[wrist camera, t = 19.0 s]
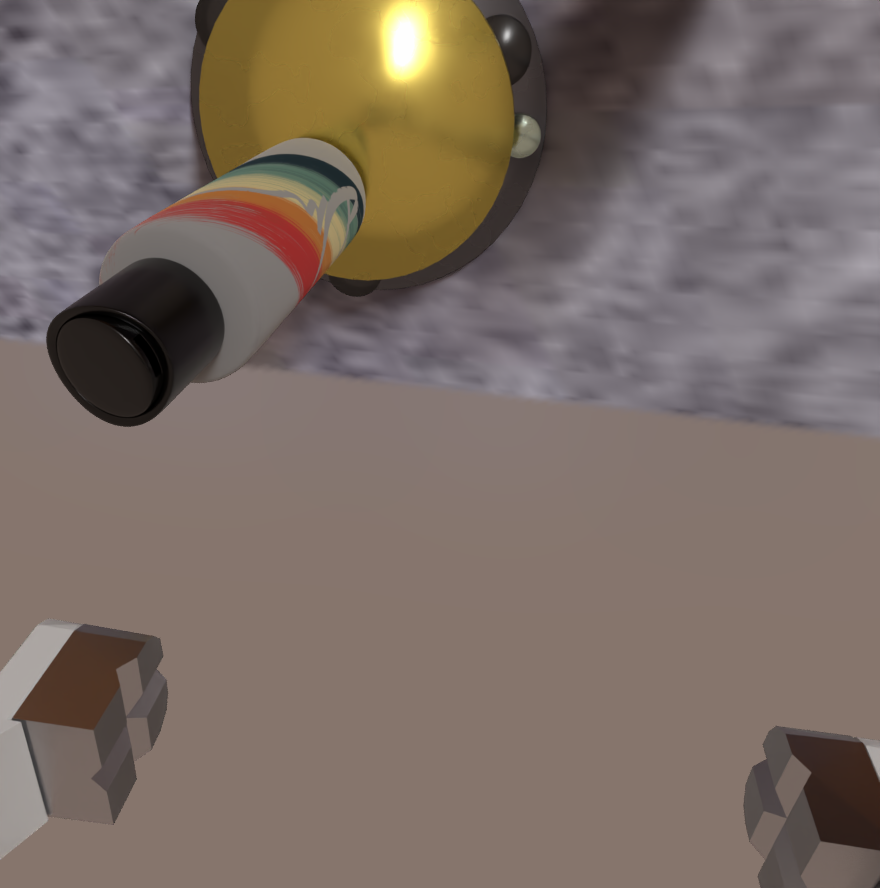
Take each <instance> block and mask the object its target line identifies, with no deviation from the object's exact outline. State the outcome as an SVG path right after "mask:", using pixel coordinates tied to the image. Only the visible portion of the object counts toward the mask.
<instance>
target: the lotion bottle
mask: <svg viewBox="0 0 880 888" xmlns="http://www.w3.org/2000/svg"><path fill="white" fill-rule="evenodd" d="M365 207H366V199H365V191H364V186H363V183H362V180H361V177H360V175H359V173H358V171H357V170H356V168H355V166H354V165H353V164H352V162H351V161H350V160H349V159H348V158H347V157H346V156H345V155H344V154H343V153H342V152H341V151H340V150H338V149H337V148H335V147H334V146H332V145H330V144H328V143H326V142H323V141H320V140H317V139H311V138H295V139H291V140H287V141H284V142H282V143H279V144H277V145H275V146H273V147H271V148H269V149H268V150H266V151H264V152H262V153H260V154H259V155H257V156H255V157H254V158H252V159H250V160H248V161H247V162H245V163H243V164H241V165H240V166H238V167H236V168H235V169H233V170H231V171H229V172H228V173H226V174H224V175H222V176H221V177H219V178H217V179H216V180H214V181H212V182H210V183H209V184H207V185H205V186H203V187H202V188H200V189H198V190H197V191H195V192H193V193H191V194H190V195H188V196H186V197H184V198H183V199H181V200H179V201H177V202H176V203H174V204H172V205H171V206H169V207H167V208H165V209H164V210H162V211H160V212H159V213H157V214H155V215H153V216H152V217H150V218H148V219H147V220H145V221H143V222H142V223H140V224H139V225H137V226H135V227H134V228H132V229H131V230H129V231H128V232H126V233H125V234H123V235H122V236H121V237H120V238H119V239H118V240H117V241H116V242H115V243H114V244H113V245H112V247H111V248H110V250H109V251H108V253H107V254H106V256H105V258H104V261H103V263H102V267H101V271H100V277H99V286H98V287H96V288H95V289H94V290H92V291H91V292H89V293H88V294H86V295H85V296H83V297H82V298H81V299H79V300H78V301H76V302H75V303H73V304H72V305H70V306H69V307H68V308H66V309H65V310H63V311H62V312H61V313H59V314H58V315H57V316H56V317H55V318H54V319H53V320H52V322H51V323H50V325H49V328H48V331H47V337H46V342H47V349H48V353H49V357H50V359H51V362H52V364H53V367H54V369H55V371H56V373H57V374H58V376H59V378H60V379H61V381H62V382H63V384H64V385H65V387H66V388H67V389H68V391H69V392H70V393H71V394H72V396H73V397H74V398H75V399H76V400H77V401H78V402H79V403H80V404H81V405H82V406H83V407H84V408H85V409H87V410H88V411H89V412H90V413H92V414H93V415H95V416H96V417H98V418H100V419H101V420H103V421H106V422H108V423H110V424H113V425H117V426H124V427H131V426H137V425H141V424H144V423H146V422H148V421H150V420H151V419H153V418H155V417H156V416H157V415H158V414H159V413H160V412H161V411H163V409H165V408H166V407H167V406H168V405H169V404H170V402H171V401H173V400H174V399H175V398H176V396H177V395H178V394H179V393H180V392H181V391H182V390H183V389H184V388H185V387H186V386H187V385H188V384H189V383H190V382H191V383H205V382H212V381H216V380H220V379H222V378H225V377H227V376H229V375H231V374H232V373H234V372H236V371H237V370H239V369H240V368H241V367H242V366H243V365H245V364H246V363H247V362H248V361H249V359H250V358H251V357H252V356H253V355H254V354H255V353H256V352H257V351H258V350H259V349H260V347H261V346H262V345H263V344H264V343H265V342H266V341H267V339H268V338H269V337H270V336H271V335H272V334H273V332H274V331H275V330H276V329H277V328H278V327H279V325H280V324H281V323H282V322H283V321H284V320H285V319H286V317H287V316H288V315H289V314H290V313H291V312H292V310H293V309H294V308H295V307H296V306H297V305H298V303H299V302H300V301H301V300H302V299H303V298H304V296H305V295H306V294H307V293H308V292H309V291H310V289H311V288H312V287H313V286H314V285H315V284H316V282H317V281H318V280H319V279H320V278H321V277H322V275H323V274H324V273H325V272H326V271H327V270H328V268H329V267H330V266H331V265H332V264H333V263H334V261H335V260H336V259H337V258H338V257H339V256H340V254H341V253H342V252H343V251H344V250H345V249H346V247H347V246H348V245H349V244H350V242H351V241H352V240H353V238H354V237H355V236H356V234H357V232H358V231H359V229H360V227H361V224H362V222H363V219H364V214H365Z"/></svg>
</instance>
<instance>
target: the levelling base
mask: <svg viewBox="0 0 880 888" xmlns="http://www.w3.org/2000/svg"><path fill="white" fill-rule="evenodd" d="M195 24H196V29H197V36H196V40H195V44H194V49H193V58H192V67H191V101H192V108H193V116H194V123H195V127H196V131H197V136H198V140H199V144H200V147H201V150H202V153H203V156H204V158H205V161H206V164H207V166H208V169H209V171H210V173H211V175H212V177H213V179H214V180H216V179H217V178H219V177H221V176H222V175H224V174H226V173H228V172H229V171H231V170H233V169H235V168H236V167H238V166H240V165H241V164H243V163H245V162H247V161H248V160H250V159H252V158H254V157H255V156H257V155H259V154H260V153H262V152H264V151H266V150H268V149H269V148H271V147H273V146H275V145H277V144H279V143H282V142H284V141H287V140H291V139H295V138H311V139H317V140H320V141H323V142H326V143H328V144H330V145H332V146H334V147H335V148H337V149H338V150H340V151H341V152H342V153H343V154H344V155H345V156H346V157H347V158H348V159H349V160H350V161H351V162H352V164H353V165H354V166H355V168H356V170H357V171H358V173H359V175H360V177H361V180H362V183H363V186H364V191H365V199H366V207H365V214H364V219H363V222H362V224H361V227H360V229H359V231H358V232H357V234H356V236H355V237H354V238H353V240H352V241H351V242H350V244H349V245H348V246H347V247H346V249H345V250H344V251H343V252H342V253H341V254H340V256H339V257H338V258H337V259H336V260H335V261H334V263H333V264H332V265H331V266H330V267H329V268H328V270H327V271H326V272H325V273H324V274H323V275H322V277H321V278H320V279H322V280H326V281H329V282H331V283H332V284H333V285H334V287H335V288H336V289H338V290H339V291H340V292H342V293H344V294H346V295H349V296H356V297H358V296H364V295H367V294H369V293H371V292H372V291H374V290H386V289H401V288H406V287H411V286H416V285H421V284H424V283H427V282H430V281H433V280H436V279H439V278H441V277H443V276H445V275H447V274H449V273H451V272H453V271H455V270H457V269H459V268H461V267H463V266H464V265H465V264H467V263H468V262H470V261H471V260H473V259H474V258H476V257H477V256H479V255H480V254H481V253H482V252H483V251H484V250H485V249H486V248H488V247H489V246H490V245H491V244H492V243H493V242H494V241H495V240H496V239H497V238H498V237H499V235H500V234H501V233H502V232H503V231H504V230H505V228H506V227H507V226H508V225H509V224H510V222H511V221H512V219H513V217H514V216H515V214H516V213H517V211H518V210H519V208H520V207H521V205H522V203H523V201H524V199H525V197H526V195H527V193H528V191H529V189H530V187H531V185H532V182H533V179H534V176H535V173H536V171H537V168H538V165H539V162H540V157H541V152H542V147H543V143H544V138H545V127H546V115H547V105H546V83H545V77H544V71H543V65H542V59H541V55H540V52H539V48H538V45H537V41H536V38H535V35H534V32H533V29H532V27H531V25H530V22H529V20H528V18H527V15H526V13H525V11H524V9H523V7H522V5H521V3H520V2H519V0H200V1H199V3H198V5H197V8H196V13H195Z"/></svg>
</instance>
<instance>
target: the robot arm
mask: <svg viewBox="0 0 880 888" xmlns="http://www.w3.org/2000/svg"><path fill="white" fill-rule="evenodd" d="M162 658H163V651H162V646H161V641H160V638H157V637H155V636H150V635H145V634H139V633H133V632H127V631H121V630H116V629H110V628H104V627H99V626H93V625H87V624H78V623H72V622H66V621H60V620H54V619H47V620H45V621H43V622H42V623H40V624H39V625H37V626H36V627H35V628H34V629H33V631H32V632H31V633H30V635H29V636H28V637H27V639H26V640H25V641H24V642H23V643H22V645H21V646H20V647H19V649H18V650H17V651H16V653H15V654H14V655H13V656H12V658H11V659H10V660H9V661H8V663H7V664H6V665H5V667H4V668H3V669H2V670H1V672H0V859H1V858H3V857H4V856H5V855H7V854H8V853H9V852H10V851H11V850H13V849H14V848H15V847H16V846H18V845H19V844H20V843H21V842H22V841H24V840H25V839H26V838H27V837H28V836H30V835H31V834H32V833H34V832H35V831H36V830H37V829H39V828H40V827H41V826H42V825H43V824H45V823H46V822H47V821H48V816H50V817H57V818H64V819H72V820H80V821H88V822H96V823H103V824H112V825H114V823H115V821H116V819H117V817H118V815H119V813H120V811H121V809H122V807H123V805H124V803H125V801H126V799H127V797H128V795H129V793H130V791H131V789H132V787H133V785H134V783H135V781H136V780H137V778H136V771H135V765H134V761H136V760H137V759H139V758H140V757H142V756H143V755H145V754H146V753H147V752H149V751H150V750H152V748H153V746H154V743H155V741H156V739H157V737H158V735H159V733H160V731H161V727H162V724H163V720H164V717H165V713H166V710H167V698H168V689H167V680H166V679H165V678H164V676H162V674H160V672H159V671H158V670H157V667H158V665H159V663H160V662H161V660H162ZM763 747H764V751H765V754H766V758H767V759H766V760H764V761H762V762H761V763H759V764H757V765H755V766H753V767H752V770H751V772H750V775H749V777H748V780H747V783H746V787H745V796H744V815H745V824H746V828H747V833H748V837H749V842H750V843H751V844H752V845H753V846H754V847H755V848H756V849H757V851H758V852H759V853H760V854H761V855H762V856H763V858H764V859H765V862H764V864H763V866H762V868H761V870H760V872H759V874H758V879H759V883H760V887H761V888H880V741H879V740H872V739H865V738H858V737H855V738H853V737H851V736H846V735H839V734H831V733H824V732H817V731H810V730H802V729H794V728H786V727H779V726H776V727H774V728H773V729H772V730H770V731H769V733H768V735H767V737H766V739H765V741H764V743H763Z"/></svg>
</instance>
